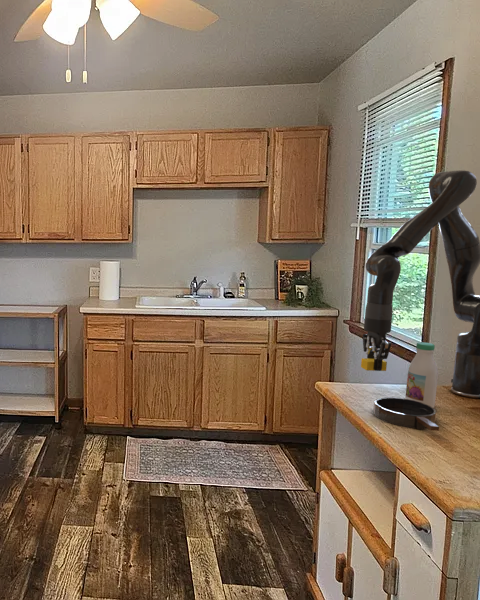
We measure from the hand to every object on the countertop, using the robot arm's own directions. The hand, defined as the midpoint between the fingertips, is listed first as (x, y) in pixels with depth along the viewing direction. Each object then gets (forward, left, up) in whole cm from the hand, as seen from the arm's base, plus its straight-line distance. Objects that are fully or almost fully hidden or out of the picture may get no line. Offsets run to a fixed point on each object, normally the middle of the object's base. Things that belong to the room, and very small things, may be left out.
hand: (373, 368), depth 162 cm
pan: (-1, +17, -10) cm, 20 cm away
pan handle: (-1, +28, -10) cm, 30 cm away
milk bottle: (-11, +6, -10) cm, 17 cm away
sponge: (0, 0, 0) cm, 0 cm away
